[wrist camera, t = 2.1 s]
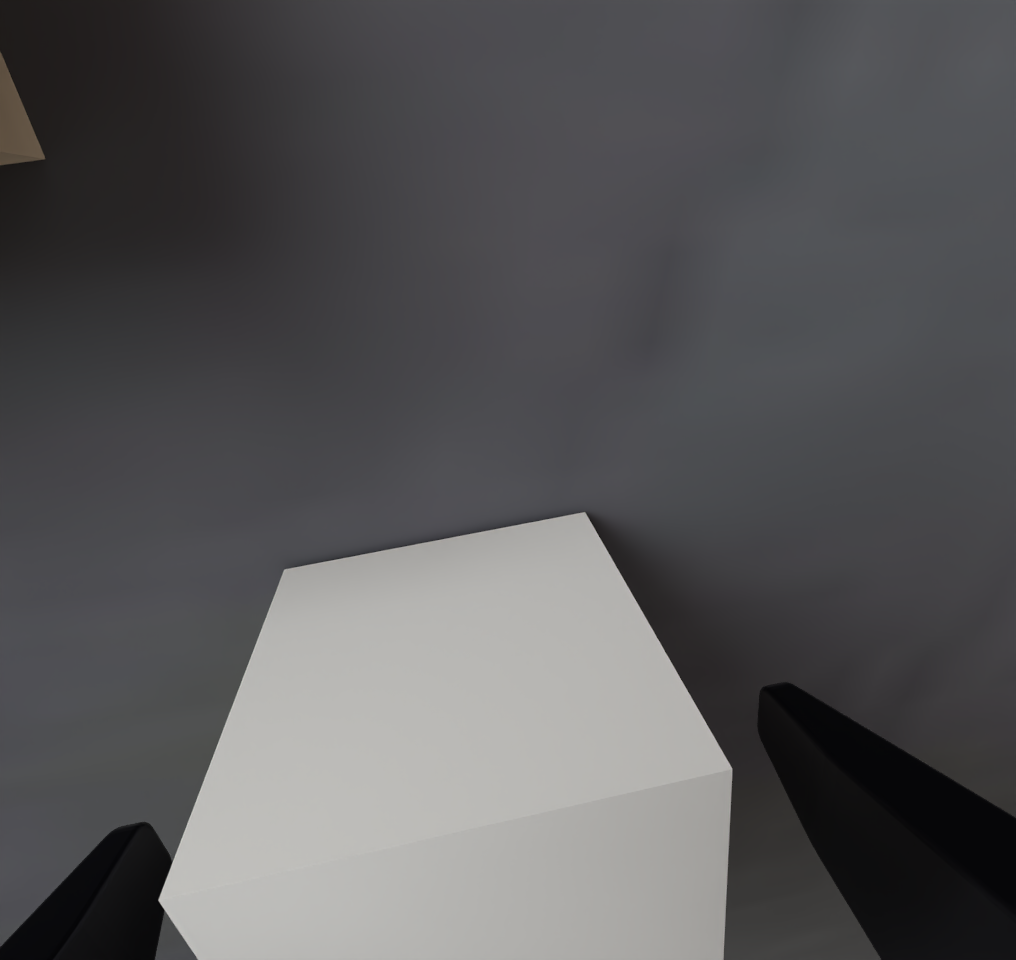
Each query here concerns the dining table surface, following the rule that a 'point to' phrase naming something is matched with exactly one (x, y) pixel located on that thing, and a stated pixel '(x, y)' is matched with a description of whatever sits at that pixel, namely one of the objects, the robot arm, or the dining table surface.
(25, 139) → the oak base
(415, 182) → the dining table surface
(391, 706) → the white cube
